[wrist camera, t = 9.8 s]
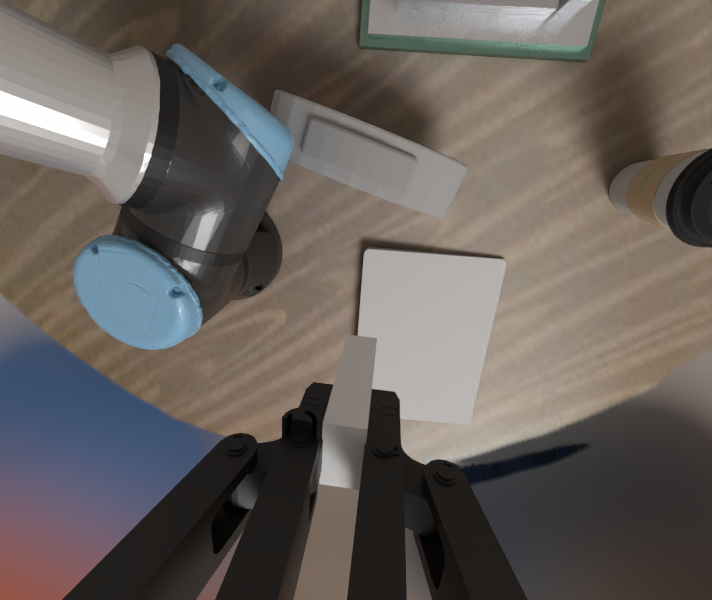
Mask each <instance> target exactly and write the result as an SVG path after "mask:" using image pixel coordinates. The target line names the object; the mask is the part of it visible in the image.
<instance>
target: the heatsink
mask: <svg viewBox="0 0 712 600" xmlns="http://www.w3.org/2000/svg"><path fill="white" fill-rule="evenodd" d="M604 3H605V0H362V13H361V28H360V42H359V47H360V49H373V50H390V51H406V52H422V53H439V54H455V55H472V56H488V57H504V58H521V59H537V60H553V61H570V62H586V61H588V60H589V58H590V55H591V51H592V47H593V44H594V40H595V36H596V33H597V29H598V25H599V21H600V18H601V14H602V10H603V7H604Z"/></svg>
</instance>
